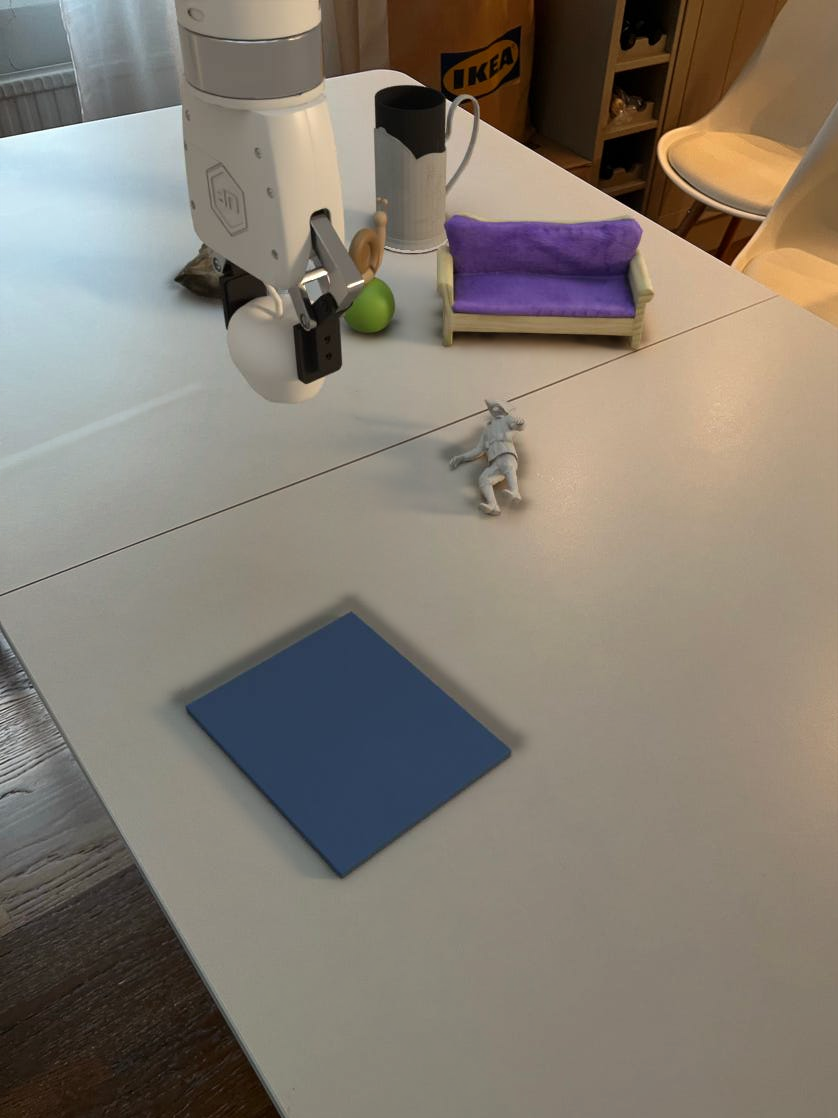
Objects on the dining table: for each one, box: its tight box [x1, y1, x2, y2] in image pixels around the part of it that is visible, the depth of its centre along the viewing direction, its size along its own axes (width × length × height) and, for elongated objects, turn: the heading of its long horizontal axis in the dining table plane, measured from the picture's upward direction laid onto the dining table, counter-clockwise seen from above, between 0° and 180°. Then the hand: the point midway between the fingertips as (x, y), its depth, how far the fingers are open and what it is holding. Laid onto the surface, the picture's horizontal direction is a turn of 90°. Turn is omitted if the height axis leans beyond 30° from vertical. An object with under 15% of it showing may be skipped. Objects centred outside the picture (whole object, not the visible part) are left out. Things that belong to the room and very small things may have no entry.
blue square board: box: [185, 611, 512, 879], centre depth 69 cm, size 14×17×1 cm
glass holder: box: [373, 84, 481, 251], centre depth 115 cm, size 9×14×15 cm, turn 132°
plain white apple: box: [226, 282, 327, 405], centre depth 68 cm, size 7×7×8 cm
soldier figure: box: [448, 397, 527, 516], centre depth 88 cm, size 8×5×12 cm
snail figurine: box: [343, 197, 396, 334], centre depth 101 cm, size 5×6×12 cm
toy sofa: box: [436, 210, 655, 350], centre depth 103 cm, size 21×9×10 cm, turn 91°
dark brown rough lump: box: [173, 242, 223, 299], centre depth 107 cm, size 8×7×10 cm
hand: (283, 348), depth 69 cm, fingers closed on plain white apple, 7 cm apart
